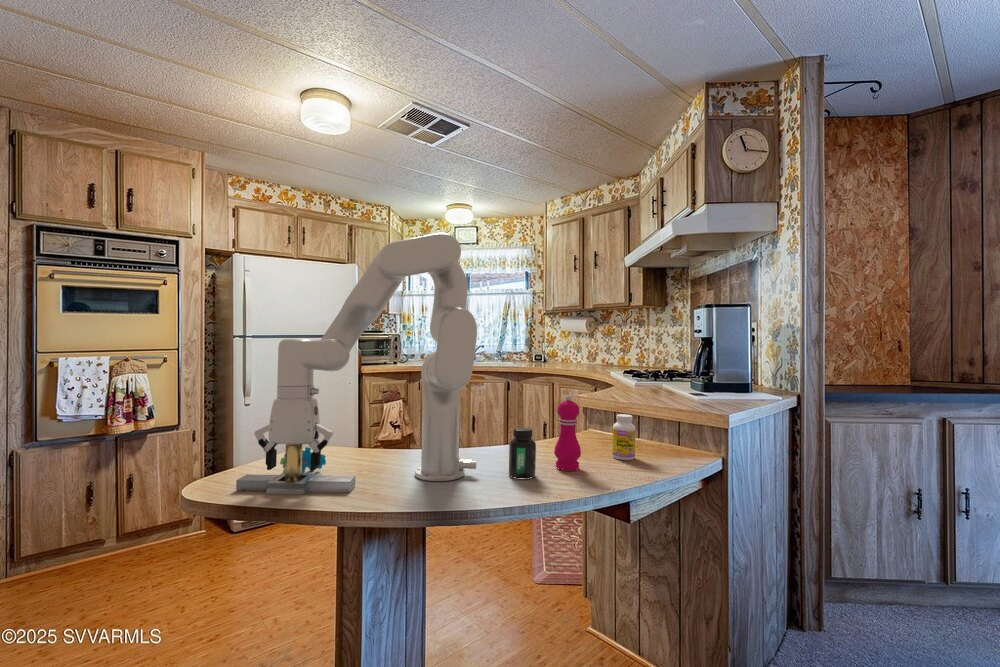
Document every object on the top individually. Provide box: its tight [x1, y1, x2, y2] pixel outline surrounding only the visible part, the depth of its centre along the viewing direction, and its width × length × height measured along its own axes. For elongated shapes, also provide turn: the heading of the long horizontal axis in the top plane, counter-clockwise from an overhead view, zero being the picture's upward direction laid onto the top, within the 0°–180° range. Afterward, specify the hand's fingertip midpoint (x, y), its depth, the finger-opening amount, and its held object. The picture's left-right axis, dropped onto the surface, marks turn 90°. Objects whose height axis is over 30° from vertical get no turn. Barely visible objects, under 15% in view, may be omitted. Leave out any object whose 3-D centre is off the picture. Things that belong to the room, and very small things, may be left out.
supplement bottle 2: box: [611, 413, 637, 461], centre depth 141 cm, size 7×7×13 cm
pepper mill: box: [553, 394, 582, 471], centre depth 129 cm, size 7×7×20 cm
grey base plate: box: [235, 472, 357, 495], centre depth 106 cm, size 25×8×2 cm, turn 91°
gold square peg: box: [284, 444, 303, 481], centre depth 107 cm, size 4×4×10 cm
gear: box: [279, 446, 327, 473], centre depth 117 cm, size 11×6×10 cm
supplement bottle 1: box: [508, 427, 537, 478], centre depth 120 cm, size 7×7×12 cm
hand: (293, 468), depth 106 cm, fingers open, 9 cm apart
